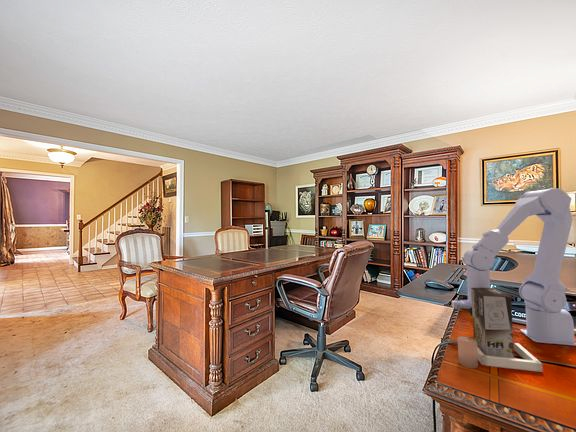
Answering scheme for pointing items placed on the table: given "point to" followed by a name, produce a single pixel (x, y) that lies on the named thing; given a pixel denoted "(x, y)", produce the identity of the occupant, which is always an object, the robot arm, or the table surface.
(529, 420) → the table surface
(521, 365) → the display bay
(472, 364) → the beige block
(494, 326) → the coffee box
